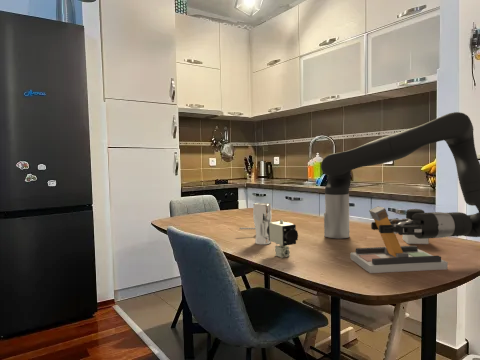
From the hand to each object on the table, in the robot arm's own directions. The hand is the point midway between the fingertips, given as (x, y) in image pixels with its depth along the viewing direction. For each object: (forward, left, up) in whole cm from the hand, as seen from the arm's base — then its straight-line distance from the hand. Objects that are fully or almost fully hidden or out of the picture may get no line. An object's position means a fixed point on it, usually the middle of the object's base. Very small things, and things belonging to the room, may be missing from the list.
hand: (375, 227), depth 102 cm
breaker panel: (+5, +3, -11) cm, 13 cm away
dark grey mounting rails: (+5, +3, -9) cm, 11 cm away
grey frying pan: (-48, +26, -11) cm, 56 cm away
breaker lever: (+5, +3, -8) cm, 10 cm away
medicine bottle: (+10, +34, -11) cm, 37 cm away
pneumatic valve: (-28, -1, -11) cm, 31 cm away
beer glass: (-42, +14, -11) cm, 45 cm away
